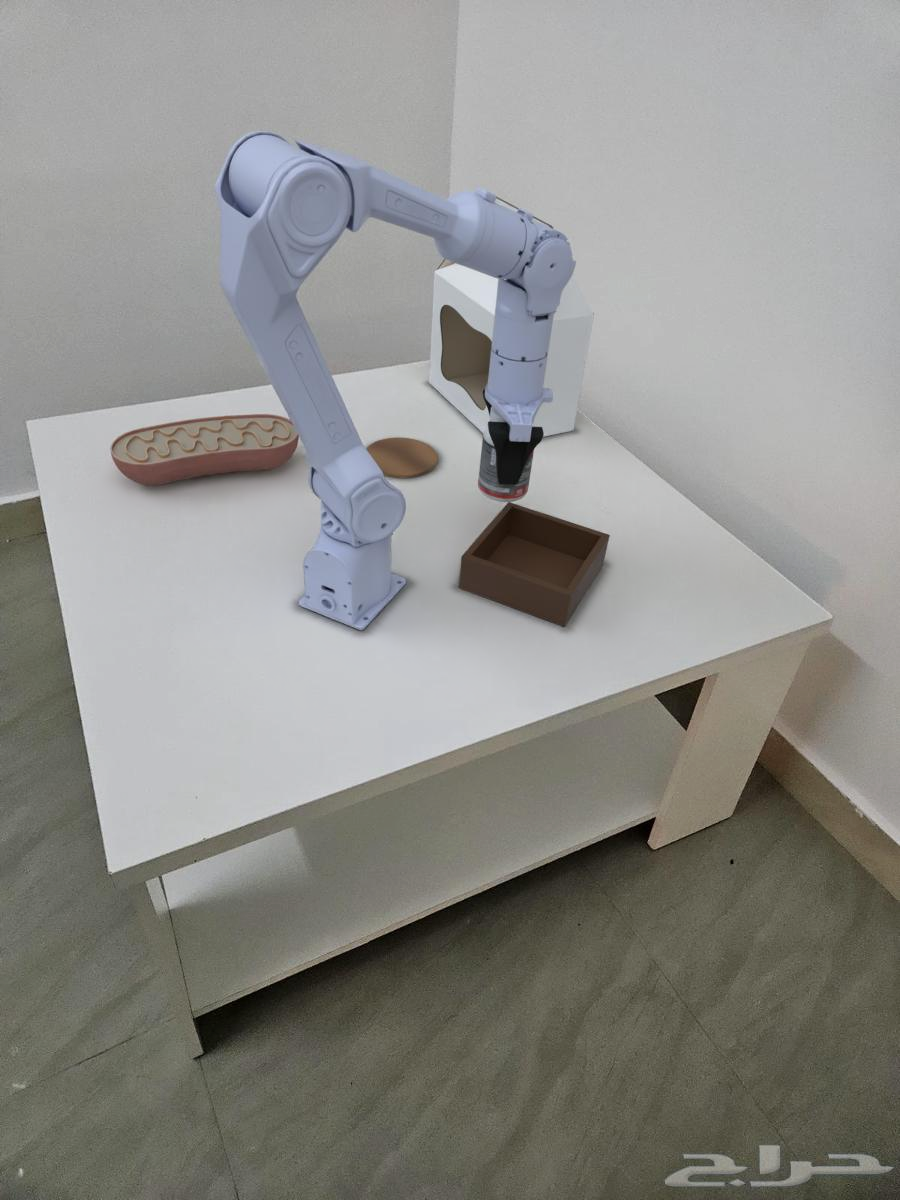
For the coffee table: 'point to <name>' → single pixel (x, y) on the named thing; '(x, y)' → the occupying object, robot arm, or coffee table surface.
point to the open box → (533, 563)
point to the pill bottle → (489, 473)
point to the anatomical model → (204, 447)
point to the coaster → (403, 457)
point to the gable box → (468, 340)
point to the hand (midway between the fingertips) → (505, 468)
